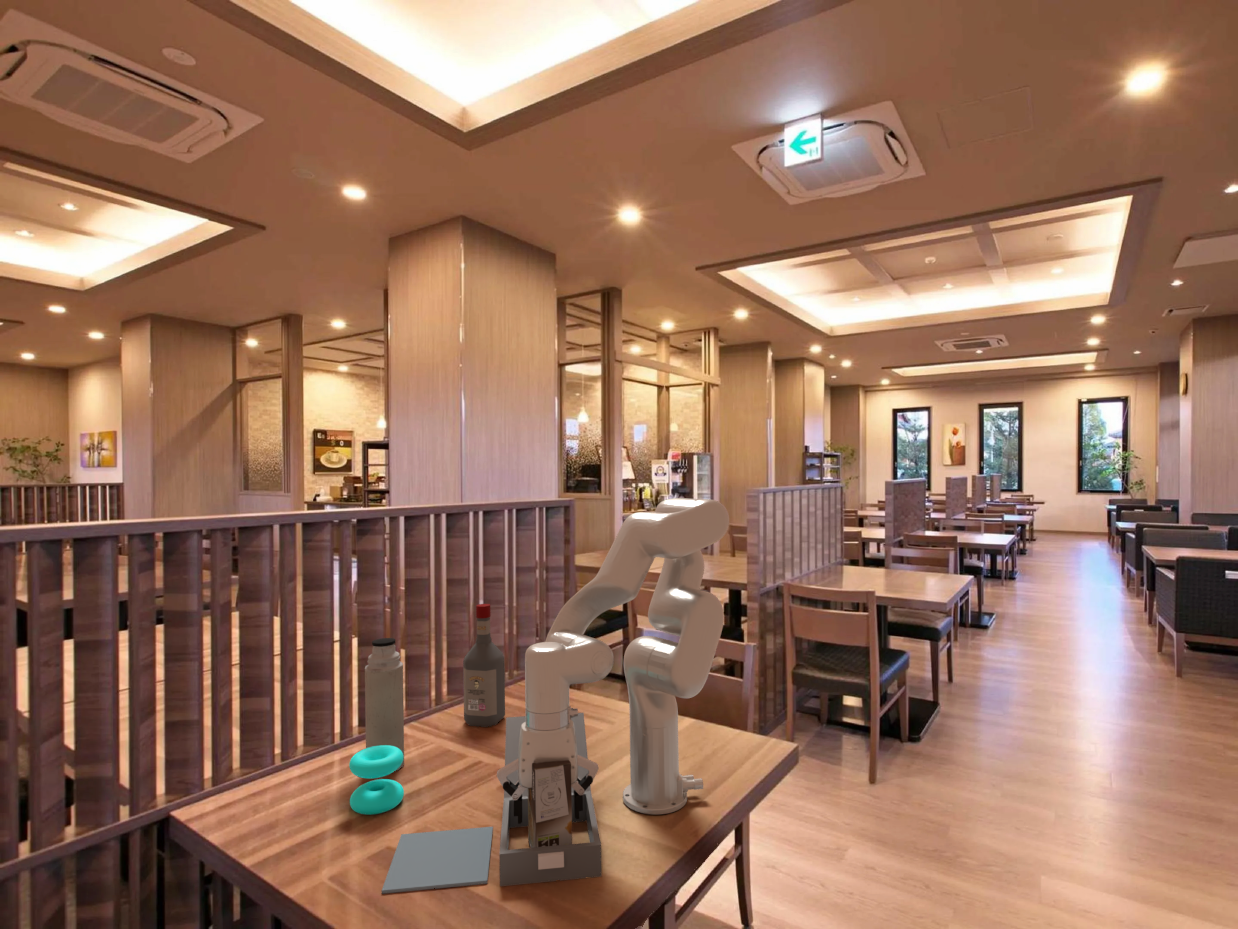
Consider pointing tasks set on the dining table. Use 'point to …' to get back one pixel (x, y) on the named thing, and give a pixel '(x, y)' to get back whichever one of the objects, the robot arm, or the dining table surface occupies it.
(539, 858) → the case
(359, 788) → the donuts
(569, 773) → the coffee box
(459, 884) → the slate mat
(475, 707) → the liquor
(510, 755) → the case lid
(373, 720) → the thermos bottle
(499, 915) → the dining table surface
